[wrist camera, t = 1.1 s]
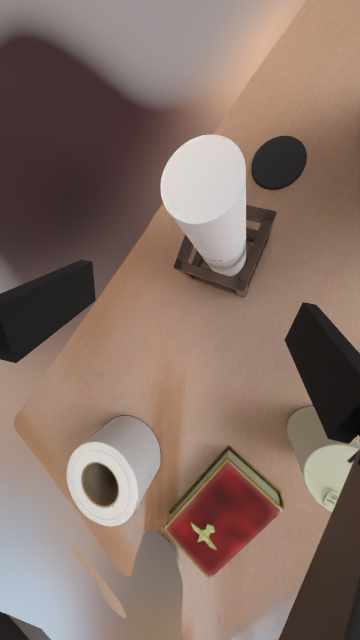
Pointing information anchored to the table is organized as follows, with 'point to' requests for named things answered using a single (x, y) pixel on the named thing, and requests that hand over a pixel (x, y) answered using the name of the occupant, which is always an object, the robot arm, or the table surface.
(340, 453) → the can
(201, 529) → the hardcover book
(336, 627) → the robot arm
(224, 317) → the table surface
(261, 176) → the coaster
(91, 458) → the white paper roll
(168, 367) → the table surface
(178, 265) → the rack
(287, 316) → the table surface
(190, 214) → the cylindrical container
